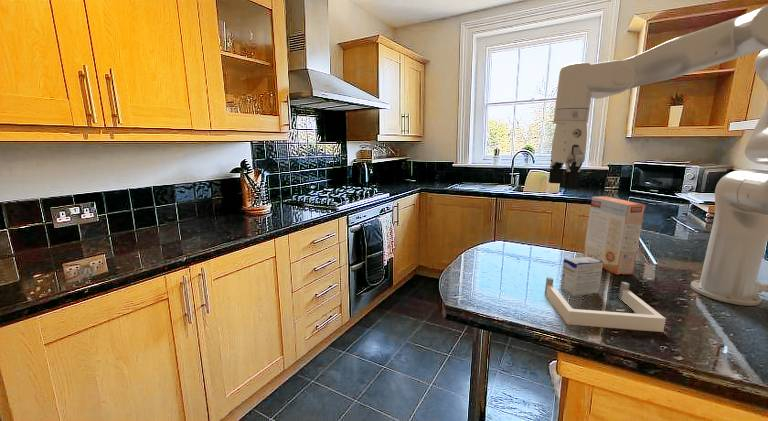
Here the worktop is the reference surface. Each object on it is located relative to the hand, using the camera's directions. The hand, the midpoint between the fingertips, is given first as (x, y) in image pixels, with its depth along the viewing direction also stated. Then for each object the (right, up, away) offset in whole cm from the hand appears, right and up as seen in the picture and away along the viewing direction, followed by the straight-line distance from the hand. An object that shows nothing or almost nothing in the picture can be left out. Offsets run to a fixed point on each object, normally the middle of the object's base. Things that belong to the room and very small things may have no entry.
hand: (561, 185), depth 86 cm
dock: (+3, -29, -10) cm, 31 cm away
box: (+4, -28, -1) cm, 28 cm away
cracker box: (+23, -24, +16) cm, 37 cm away
